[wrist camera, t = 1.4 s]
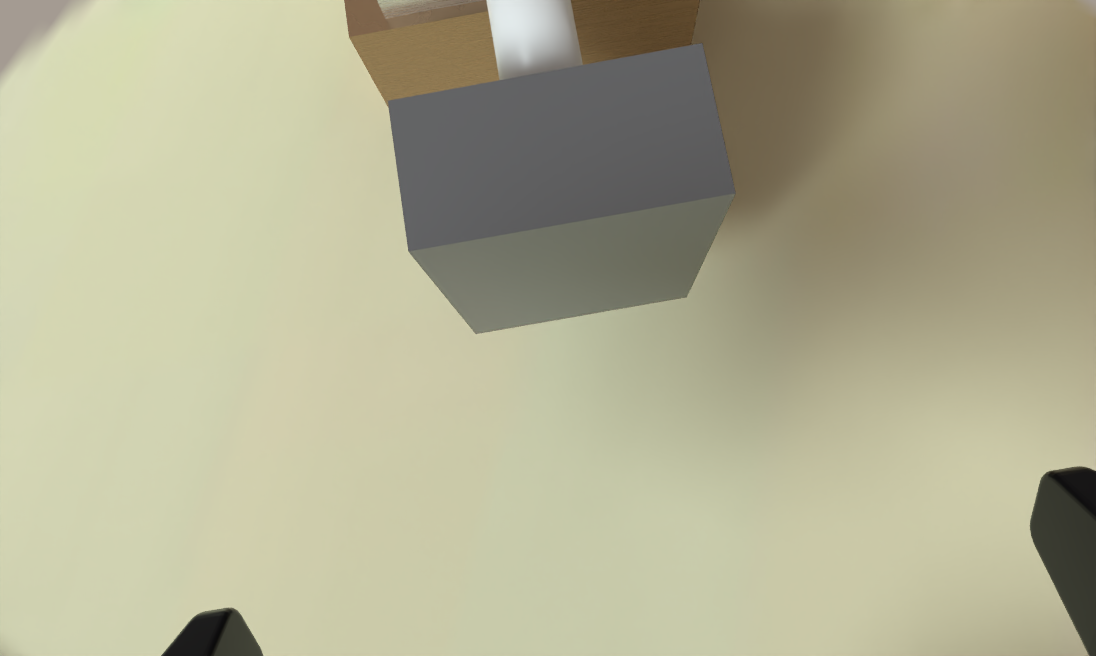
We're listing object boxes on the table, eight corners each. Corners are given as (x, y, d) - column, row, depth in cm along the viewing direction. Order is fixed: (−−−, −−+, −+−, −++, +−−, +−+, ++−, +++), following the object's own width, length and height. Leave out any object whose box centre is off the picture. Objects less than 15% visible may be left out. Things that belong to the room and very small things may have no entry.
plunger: (686, 297, 19) (735, 193, 12) (476, 333, 19) (408, 252, 12) (624, -9, 21) (637, -251, 14) (429, 28, 21) (346, -196, 14)
